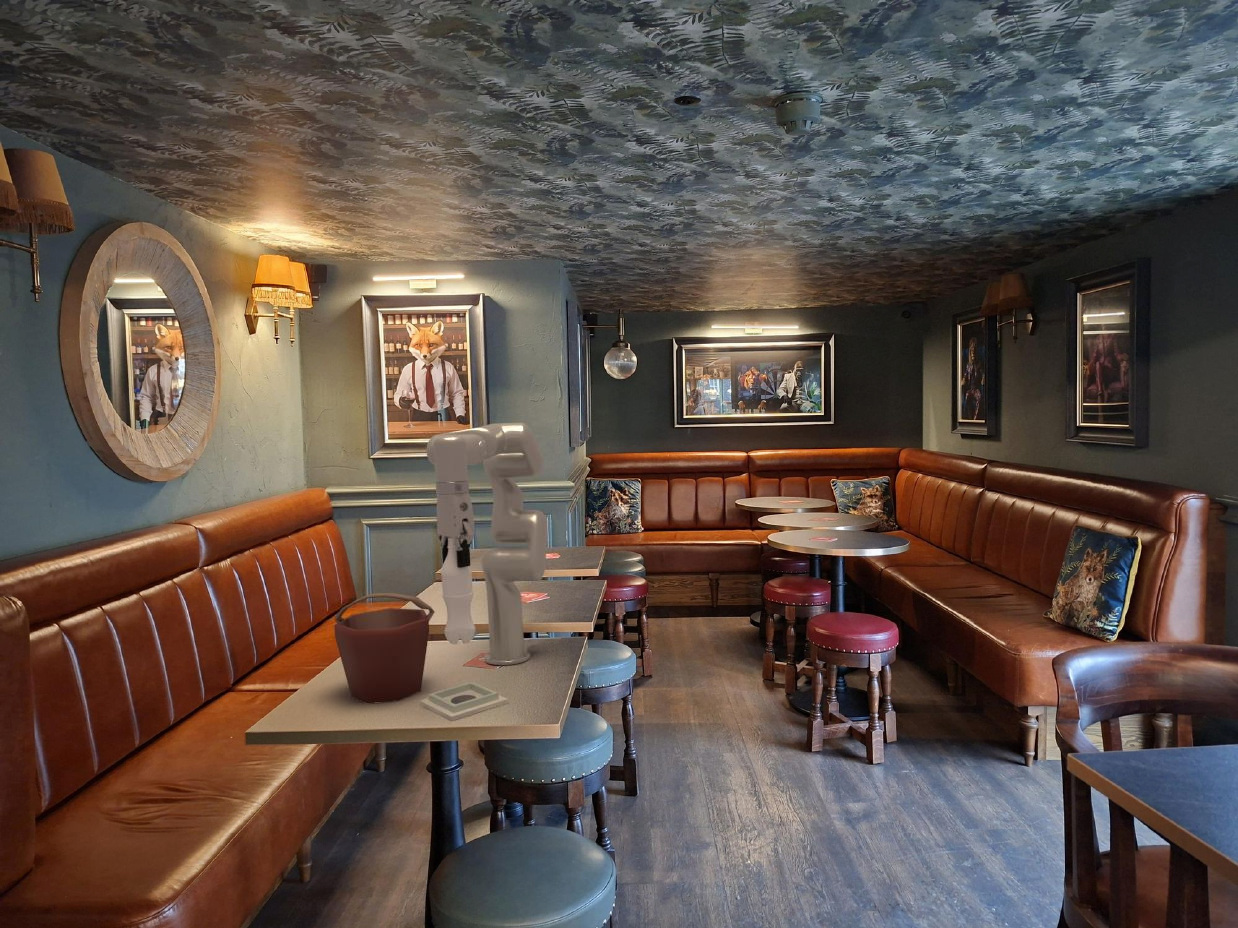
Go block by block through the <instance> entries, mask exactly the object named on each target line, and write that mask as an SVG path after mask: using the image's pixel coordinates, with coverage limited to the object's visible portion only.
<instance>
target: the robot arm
mask: <svg viewBox="0 0 1238 928" xmlns="http://www.w3.org/2000/svg"><path fill="white" fill-rule="evenodd" d="M425 451H426V456H427V459H428V461H429V462H430V463H431V464H432V465H433V466H434V476H435V491H436V493H435V494H436V497H437V498H436V499H437V500H436V533H437V535H438V539H439V541H440V547H441V552H442V553H441V556H442V559H441V560H442V565H443V564H444V562H445V559H446V557H447V555H448V548H447V546H448V537H450V538H455V539H456V543H457V547H458V551H456V552H457V567H458V568H462V567H467V566H471V552H470V551H471V548H472V547H471V545H472V543H473V540H474V538H475V533H476V529H475V527H476V526H475V519H474V510H473V504H472V498H471V495H470V485H469V469H468V466H474V465H479V464H481V463H482V464H483V469H484V472H485V474H486V476H487V479H488V481H489V484H490V487H491V489H492V493H493V502H492V503H493V504H492V513H491V514H492V516H491V525H490V526H491V527H490V535H491V538H492V540H493V541H494V542H495V543H499V544H505V545H506V544H511V545H512V544H513V545H514V544H518V545H521V544H523V545H524V544H527V545H528V546H499V547H493V548H489V549H488V550H487V551H485V552H484V554H483V556H482V560H481V569H482V572H483V577H484V581H485V587H486V598H487V599H486V601H487V614H488V616H487V619H488V620H487V621H488V638H489V652H488V653H486V654H485V655H484V661H485V663H487V664H489V665H492V664H493V665H494V666H511V665H512V666H513V665H516V664H521V663H523V662H526V661H527V660H529V659H530V658H531V653H530V651H528V650H530V648H534V647H538V646H539V641H538V639H537V638H536V639H531V640H529V639H524V621H523V620H524V619H523V604H522V603H523V601H522V600H523V598H522V594H521V591H520V590H519V588H518V586H516V584H515V583H516V582H537V581H539V580H541V579H542V578H543V577H544V575H545V571H546V563H547V562H546V559H547V545H548V544H547V543H548V522H547V517H546V516H545V513H543V512H542V511H541V510H538V509H524V494H523V491H522V490H521V487H519V486H518V484H517V483H516V482H515V481H514V479H512V478H533V477H537V476H539V475H540V474H541V473H542V472H543V469H544V458H543V453H542V451H541V448H540V446H539V443H538V441H537V439H536V437H535V434H534V433H533V430H531V428H530V427H529V425H527V423H524V422H504V423H502V422H501V423H500V422H499V423H498V422H497V423H490V424H486V425H482V426H479V427H478V426H477V427H473V428H467V429H462V430H456V431H450V432H444V433H438V434H435V435H433V436H432V437H431V438H430V439H429V440H428V442H427V445H426V449H425ZM460 536H461V537H460ZM461 543H462V544H461ZM514 582H515V583H514Z"/></svg>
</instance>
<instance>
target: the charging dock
mask: <svg viewBox="0 0 1238 928" xmlns="http://www.w3.org/2000/svg"><path fill="white" fill-rule="evenodd" d="M427 697H428V698H425V699H421V700H419V704H420V706H422V707H424V708H425V709H427V710H429V711H432V712H434V713H436V714H437V715H440V716H441V717H443V718H445V719H447V720H449V721H451V722H453V721H456V720H459V719H463V718H466V717H469V716H471V715H475V714H478V712H479V713H481V711H482V712H484V711H483V710H485V711H487V709H488V710H491V709H494V708H496V706H497V707H500V706H502V705H503V704H504V705H506V704H509V699H508V698H506V697H504V696H502V695H500V694H499V692H498V691H495V690H493V689H490V688H487V687H485V686H483V685H482V684H478V683H476V682H474V681H470V682H466V683H463V684H460V685H455V686H452V687H448V688H445V689H441V690H438V691H435V692H431V693H428V695H427ZM504 705H503V706H504ZM493 707H494V708H493ZM490 708H491V709H490Z"/></svg>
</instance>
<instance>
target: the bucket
mask: <svg viewBox="0 0 1238 928" xmlns="http://www.w3.org/2000/svg"><path fill="white" fill-rule="evenodd" d="M377 598H390V599H397V600H402V601H407V602H411V603H413V605H415V606H416V607H417V608H420V609H415V608H414V609H413V608H397V607H396V608H394V607H393V608H392V607H390V608H384V609H379V610H372V611H366V612H360V613H354V614H350V615H349V616H347V617H346V618H344V617H343V615H344V613H346V612H347V610H348V609H349V608H351V607H352V606H355V605H356V604H359V603H360V602H363V601H365V600H367V599H377ZM425 610H428V613H426V611H425ZM435 612H436V611H435V610H434V609H433V608H432V606H430V605H429V604H428V603H426V602H424V600H422V599H420V597H419V596H414V595H409V594H402V593H394V592H379V593H369V594H367V595H364V596H362V597H360V598H358V599H355V600H354V601H352V602H350V603H349V604H347V605H345V606H344V607H342V608H341V609H340V610H339V611H338V612H337V614H336V615H335V616H334V622H335V623H336V624H334V625H333V626H334V639H335V642H336V645H337V649H338V653H339V657H340V659H341V663H342V667H343V671H344V674H345V679H346V682H347V686H348V688H349V692H350V696H351V698H353V697H354V698H353V699H354V700H357V699H358V700H357V701H360V702H362V703H364V702H365V703H364V704H366V703H369V704H376V703H375V702H381V703H390V702H399V701H400V702H401V700H404V699H406V697H407V698H409V697H411V696H414V695H416V694H417V693H420V692H421V691H422V686H423V679H424V671H425V664H426V657H427V656H426V655H427V648H428V641H429V635H430V621H431V619H432V618H433V616H434V614H435Z"/></svg>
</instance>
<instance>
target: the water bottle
mask: <svg viewBox="0 0 1238 928" xmlns="http://www.w3.org/2000/svg"><path fill="white" fill-rule="evenodd" d="M461 536H462V535H461ZM461 536H460V537H461ZM461 544H462V542H461ZM447 548H448V555H447V557H446V559H445V562H444V564H443V563H442V567H441V571H440V575H441V586H442V595H441V596H442V599H443V601H444V605H445V607H446V612H447V618H446V619H447V620H446V624H445V628H444V635H445V638H446V640H447V641H448V642H449V643H450V644H451V645H455V646H456V645H458V643H459V641H460V640H461V642H462V644H465V645H466V644H469V643H471V641H472V640H473V639H474V638H475V634H476V626H475V624H474V621H473V619H472V613H471V607H472V606H471V605H472V601H473V598H474V591H473V576H472V574H473V573H472V572H473V570H472V566H471V565H470V566H467V567H462V568H458V567H457V552H456V551H458V547H457V543H456V539H455V538H450V537H448V546H447Z"/></svg>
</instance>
